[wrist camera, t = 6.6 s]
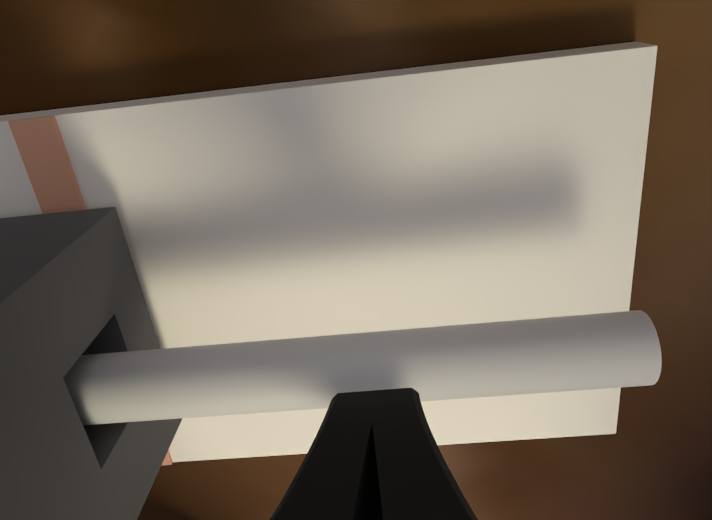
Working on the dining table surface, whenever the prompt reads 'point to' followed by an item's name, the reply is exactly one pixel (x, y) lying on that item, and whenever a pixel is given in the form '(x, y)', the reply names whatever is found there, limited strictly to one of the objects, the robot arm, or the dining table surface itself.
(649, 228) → the dining table surface
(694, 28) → the dining table surface
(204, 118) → the pipe stand
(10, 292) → the grey square sleeve
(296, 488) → the robot arm
